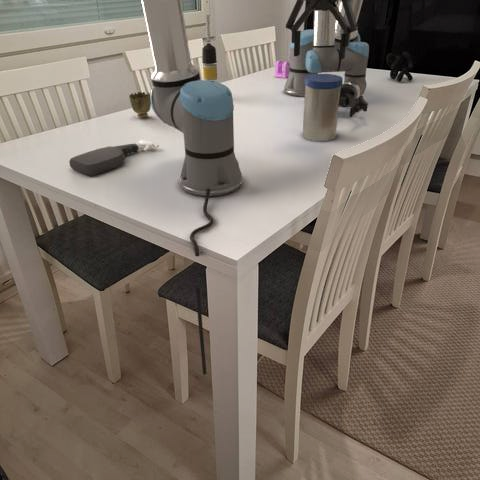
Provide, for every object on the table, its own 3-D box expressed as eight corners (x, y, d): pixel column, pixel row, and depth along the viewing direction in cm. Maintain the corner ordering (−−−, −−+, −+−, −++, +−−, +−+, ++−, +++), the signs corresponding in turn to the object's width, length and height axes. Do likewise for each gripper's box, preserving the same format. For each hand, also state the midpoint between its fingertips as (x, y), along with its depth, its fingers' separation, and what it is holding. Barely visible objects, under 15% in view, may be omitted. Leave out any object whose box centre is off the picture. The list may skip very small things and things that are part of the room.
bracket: (285, 77, 208) (285, 62, 204) (275, 76, 211) (275, 60, 207) (299, 72, 216) (300, 57, 213) (289, 71, 219) (290, 56, 216)
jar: (295, 135, 140) (298, 79, 131) (317, 128, 145) (321, 74, 136) (320, 143, 133) (325, 85, 124) (342, 136, 139) (348, 79, 130)
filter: (220, 99, 177) (217, 15, 161) (206, 100, 176) (202, 16, 160) (215, 96, 182) (212, 14, 166) (202, 97, 180) (197, 14, 164)
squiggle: (400, 92, 202) (376, 71, 205) (417, 76, 202) (392, 56, 205) (405, 81, 191) (380, 59, 194) (423, 64, 191) (397, 42, 194)
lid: (296, 84, 131) (297, 77, 130) (320, 78, 137) (321, 72, 136) (325, 90, 124) (326, 83, 123) (349, 84, 130) (350, 77, 129)
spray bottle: (67, 168, 120) (139, 144, 136) (91, 178, 114) (163, 151, 130) (65, 157, 118) (137, 134, 134) (89, 167, 112) (162, 142, 128)
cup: (127, 118, 157) (124, 95, 153) (141, 113, 163) (138, 90, 159) (144, 121, 154) (141, 97, 150) (157, 115, 160) (154, 92, 156)
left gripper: (275, -29, 119) (273, 56, 130) (368, -30, 109) (357, 62, 120) (286, -30, 125) (284, 52, 136) (376, -31, 114) (365, 57, 125)
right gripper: (381, 108, 155) (367, 126, 139) (312, 101, 165) (292, 117, 149) (384, 86, 151) (371, 102, 135) (314, 80, 161) (293, 94, 145)
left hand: (318, 57), depth 128 cm, fingers open, 13 cm apart
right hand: (330, 110), depth 142 cm, fingers open, 13 cm apart
